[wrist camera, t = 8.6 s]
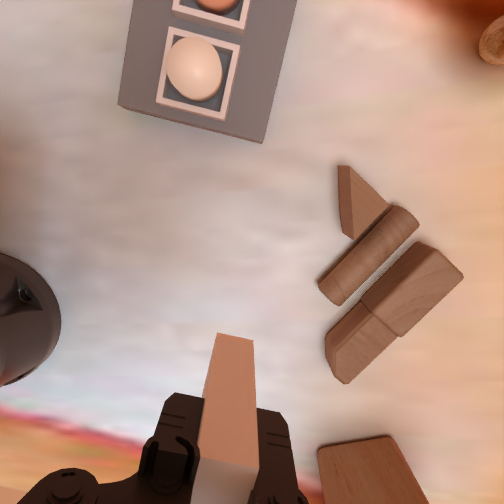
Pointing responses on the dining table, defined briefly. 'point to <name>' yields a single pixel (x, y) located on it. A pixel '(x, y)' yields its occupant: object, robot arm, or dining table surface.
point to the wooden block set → (387, 287)
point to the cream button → (194, 69)
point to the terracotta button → (217, 6)
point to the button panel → (231, 57)
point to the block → (367, 474)
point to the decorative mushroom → (493, 42)
